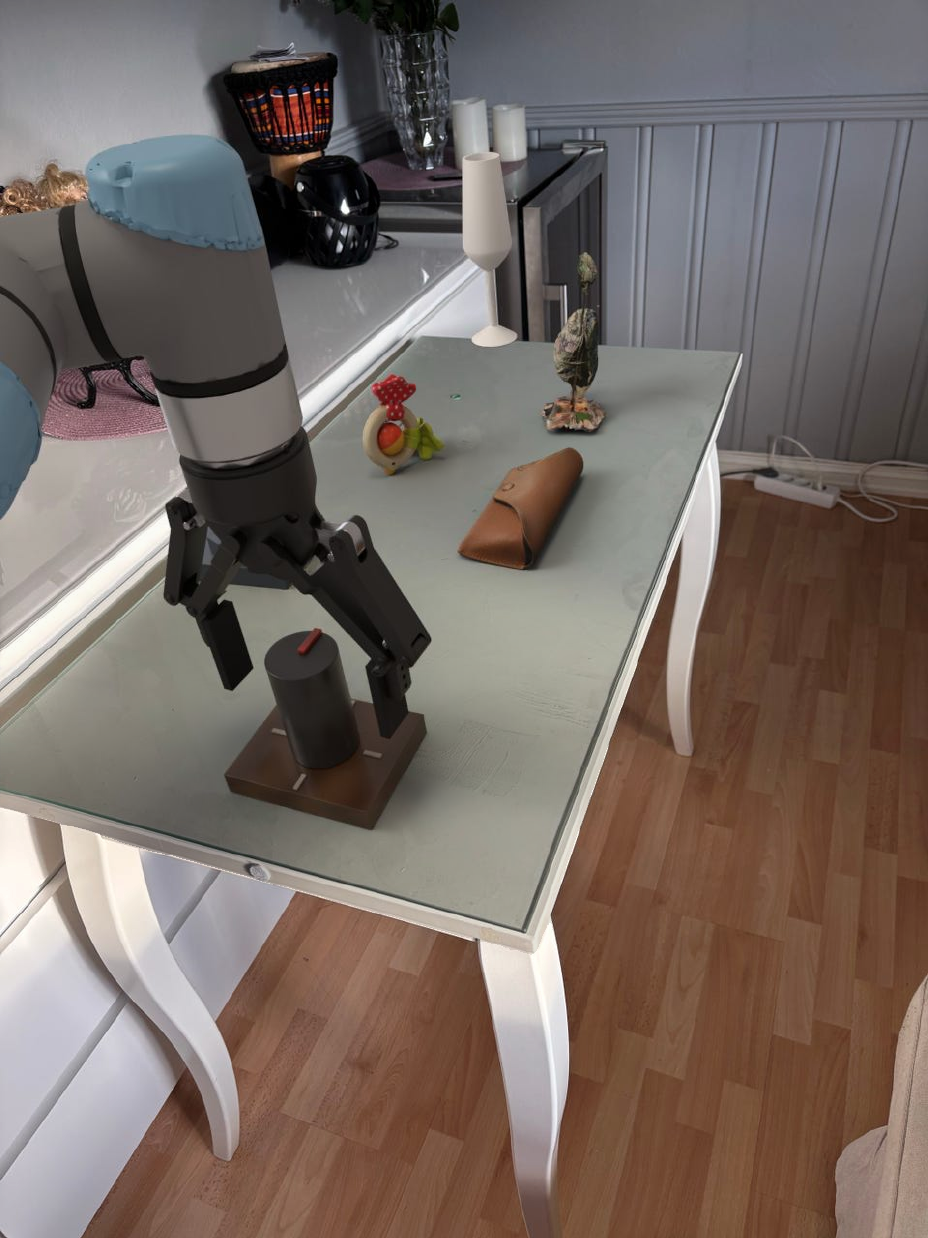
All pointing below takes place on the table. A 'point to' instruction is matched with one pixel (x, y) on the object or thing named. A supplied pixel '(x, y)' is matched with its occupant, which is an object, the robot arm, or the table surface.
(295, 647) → the dial
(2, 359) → the robot arm
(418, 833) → the table surface
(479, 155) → the champagne flute
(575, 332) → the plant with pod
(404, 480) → the table surface
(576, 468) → the sunglasses case
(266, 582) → the button box
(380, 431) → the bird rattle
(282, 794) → the knob panel
